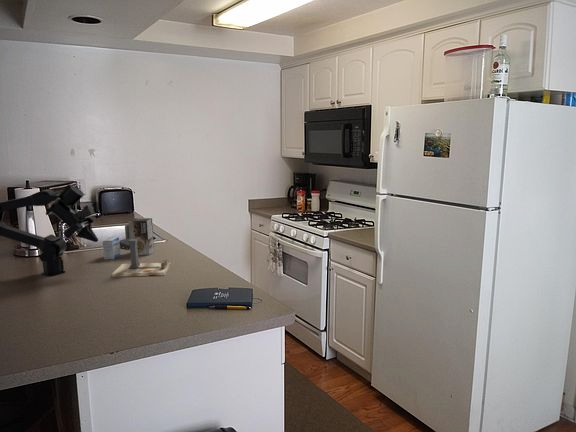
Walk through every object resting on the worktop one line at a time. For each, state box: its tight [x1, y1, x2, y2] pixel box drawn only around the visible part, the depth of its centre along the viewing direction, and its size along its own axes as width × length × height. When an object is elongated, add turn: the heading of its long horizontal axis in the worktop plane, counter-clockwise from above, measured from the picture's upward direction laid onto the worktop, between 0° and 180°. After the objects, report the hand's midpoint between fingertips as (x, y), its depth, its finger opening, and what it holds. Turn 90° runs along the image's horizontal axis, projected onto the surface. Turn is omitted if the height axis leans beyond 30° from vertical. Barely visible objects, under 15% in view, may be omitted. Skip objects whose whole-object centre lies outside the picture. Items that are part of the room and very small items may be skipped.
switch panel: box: [111, 259, 172, 278], centre depth 184 cm, size 20×14×4 cm
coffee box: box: [127, 217, 155, 256], centre depth 212 cm, size 9×6×16 cm
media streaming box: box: [119, 237, 155, 250], centre depth 229 cm, size 15×15×3 cm
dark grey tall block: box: [129, 239, 141, 268], centre depth 183 cm, size 3×4×11 cm
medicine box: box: [102, 236, 121, 261], centre depth 205 cm, size 8×4×9 cm, turn 179°
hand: (97, 241), depth 181 cm, fingers closed
